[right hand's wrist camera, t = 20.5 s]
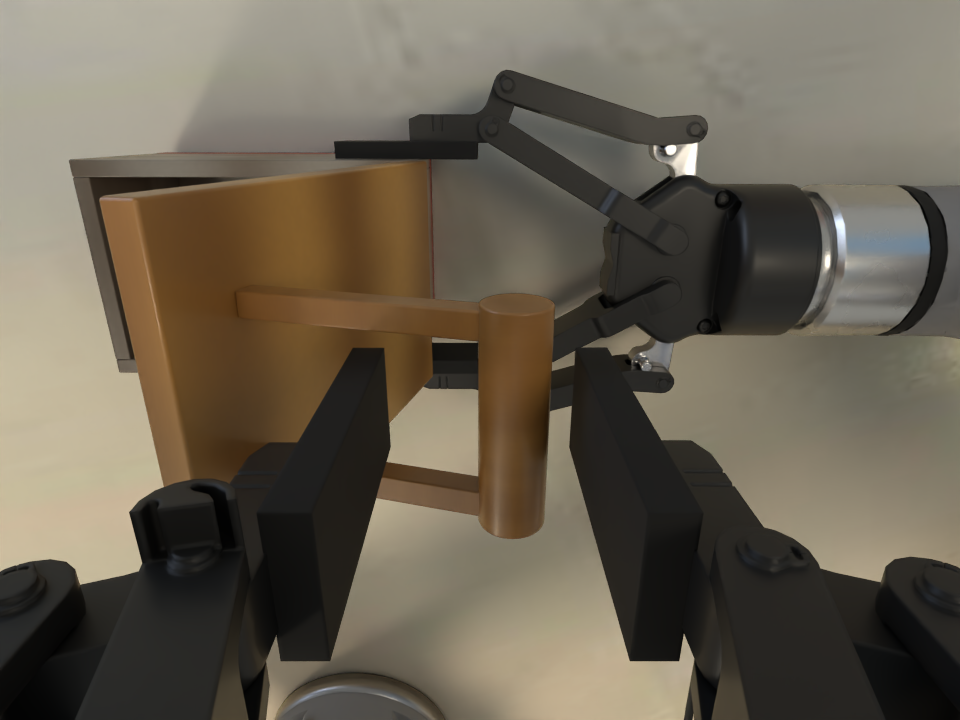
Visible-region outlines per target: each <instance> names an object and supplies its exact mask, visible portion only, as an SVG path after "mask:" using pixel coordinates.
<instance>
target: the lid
mask: <svg viewBox="0 0 960 720" xmlns="http://www.w3.org/2000/svg"><path fill="white" fill-rule="evenodd" d="M99 202H100V206H101V211H102V215H103V219H104V224H105V228H106V233H107V237H108V242H109V246H110V250H111V255H112V259H113V264H114V268H115V273H116V277H117V281H118V286H119V290H120V295H121V299H122V303H123V308H124V312H125V317H126V321H127V326H128V330H129V334H130V339H131V343H132V348H133V352H134V357H135V361H136V365H137V370H138V374H139V379H140V383H141V388H142V392H143V396H144V401H145V405H146V410H147V414H148V418H149V423H150V427H151V432H152V436H153V441H154V445H155V449H156V454H157V458H158V463H159V467H160V472H161V476H162V480H163V485H164V487H166V486H168V485H171V484H173V483H177V482H182V481H187V480H191V479H216V480H221V481H225V482H227V483H228V484H229V483H230V482H231V481H232V479H233V478H234V476H235V475H238V471H239V469H240V468H241V467H242V465H243V464H244V462H245V461H246V459H247V458H248V457H249V456H250V455H251V454H253V453H254V452H256V451H257V450H259V449H260V448H262V447H263V446H265V445H266V444H267V443H269V442H298V441H299V439H300V437H301V436H302V434H303V432H304V430H305V429H306V427H307V425H308V424H309V422H310V420H311V418H312V417H313V415H314V413H315V412H316V410H317V408H318V406H319V405H320V403H321V401H322V400H323V398H324V396H325V395H326V393H327V391H328V389H329V388H330V386H331V384H332V383H333V381H334V379H335V377H336V376H337V374H338V372H339V371H340V369H341V367H342V365H343V364H344V362H345V360H346V359H347V357H348V355H349V354H350V352H351V350H352V348H384V351H385V366H386V382H387V398H388V414H389V423H390V422H391V421H392V420H393V419H394V418H395V417H396V415H397V414H398V413H399V412H400V411H401V410H402V409H403V408H404V407H405V406H406V405H407V404H408V402H409V401H410V400H411V399H412V398H413V397H414V396H415V395H416V394H417V393H418V392H419V391H420V390H421V388H422V387H423V386H424V385H425V384H426V383H427V382H428V381H429V380H430V379H431V378H432V376H433V365H432V337H438V338H449V339H459V340H469V341H478V476H471V475H465V474H459V473H452V472H446V471H440V470H433V469H427V468H421V467H414V466H408V465H402V464H395V463H389V462H386V465H385V469H384V472H383V476H382V479H381V483H380V486H379V490H378V493H377V497H376V498H380V499H385V500H391V501H397V502H402V503H408V504H414V505H419V506H425V507H431V508H437V509H442V510H448V511H454V512H459V513H465V514H471V515H477V516H478V519H479V522H480V524H481V526H482V527H483V528H484V529H485V530H486V531H487V532H489V533H490V534H492V535H495V536H498V537H501V538H507V539H519V538H525V537H528V536H531V535H533V534H534V533H536V532H537V531H539V529H540V528H541V527H542V525H543V523H544V515H545V495H546V475H547V455H548V435H549V415H550V395H551V375H552V355H553V335H554V315H555V305H554V303H553V302H552V301H551V300H549V299H547V298H544V297H541V296H536V295H530V294H499V295H493V296H490V297H486V298H484V299H482V300H481V301H480V302H479V303H477V302H464V301H451V300H439V299H431V296H430V262H429V228H428V194H427V163H426V161H402V162H393V163H384V164H375V165H367V166H358V167H349V168H341V169H332V170H323V171H314V172H306V173H297V174H288V175H280V176H271V177H262V178H253V179H245V180H236V181H227V182H218V183H210V184H201V185H192V186H184V187H175V188H166V189H157V190H149V191H140V192H131V193H123V194H114V195H105V196H102V197H101V198H100V200H99Z"/></svg>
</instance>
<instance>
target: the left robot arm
mask: <svg viewBox="0 0 960 720" xmlns="http://www.w3.org/2000/svg"><path fill="white" fill-rule="evenodd" d="M514 106H517V107H520V108H523V109H526V110H529V111H533V112H536V113H539V114H542V115H545V116H548V117H551V118H555V119H558V120H561V121H564V122H567V123H570V124H574V125H577V126H580V127H583V128H586V129H589V130H592V131H596V132H599V133H602V134H605V135H608V136H611V137H614V138H618V139H621V140H624V141H627V142H631V143H636V144H645V145H649V155H650V157H651V158H652V159H653V160H655V161H657V162H662V163H664V164H666V166H667V167H668V169H669V172H670V176H668V177H667V178H665V179H664V180H662V181H661V182H660V183H658V184H657V185H655V186H654V187H652V188H651V189H649V190H648V191H647V192H645V193H644V194H642V195H641V196H639V197H638V198H637V199H635V200H632V199H631V198H629V197H627V196H626V195H624V194H623V193H621V192H619V191H618V190H616V189H614V188H613V187H611V186H609V185H608V184H606V183H604V182H603V181H601V180H600V179H598V178H596V177H595V176H593V175H592V174H590V173H588V172H587V171H585V170H584V169H582V168H581V167H579V166H577V165H576V164H574V163H573V162H571V161H569V160H568V159H566V158H565V157H563V156H561V155H560V154H558V153H557V152H555V151H553V150H552V149H550V148H549V147H547V146H545V145H544V144H542V143H541V142H539V141H537V140H536V139H534V138H533V137H531V136H529V135H528V134H526V133H525V132H523V131H521V130H520V129H518V128H517V127H515V126H513V125H512V124H510V123H509V119H510V116H511V113H512V111H513V108H514ZM409 129H410V141H335V142H334V147H335V159H478V143H489V144H491V145H493V146H494V147H496V148H497V149H499V150H501V151H502V152H504V153H506V154H507V155H509V156H510V157H512V158H514V159H515V160H517V161H519V162H520V163H522V164H523V165H525V166H527V167H528V168H530V169H532V170H533V171H535V172H536V173H538V174H540V175H541V176H543V177H545V178H546V179H548V180H549V181H551V182H553V183H554V184H556V185H558V186H559V187H561V188H562V189H564V190H566V191H567V192H569V193H571V194H572V195H574V196H576V197H577V198H579V199H580V200H582V201H584V202H585V203H587V204H589V205H590V206H592V207H593V208H595V209H597V210H598V211H600V212H601V213H603V214H605V215H606V216H608V217H609V218H611V220H610V221H609V223H608V225H607V227H604V233H603V246H604V251H605V260H604V263H603V266H602V269H601V272H600V285H599V286H600V287H601V289H602V292H600V293H598V294H596V295H595V296H593V297H591V298H589V299H588V300H586V301H585V303H584V304H583V305H582V306H580V307H578V308H576V309H574V310H572V311H571V312H569V313H567V314H565V315H563V316H561V317H559V318H557V319H555V320H554V335H553V355H552V362H554V361H556V360H558V359H560V358H562V357H564V356H566V355H568V354H569V353H571V352H573V351H575V350H576V348H581V347H583V346H585V345H587V344H589V343H591V342H593V341H595V340H597V339H599V338H607V337H610V336H612V335H614V334H616V333H618V332H620V331H622V330H624V329H626V328H628V327H630V326H632V325H634V324H635V325H636V326H638V327H639V328H640V329H642V330H643V331H644V332H646V333H647V334H648V335H650V336H651V338H650V340H649V341H648V342H647V343H646V344H644V345H642V346H636V347H633V348H632V349H631V350H630V352H629V354H623V355H614V356H612V357H613V359H614V360H615V362H616V364H617V365H618V367H619V369H620V371H621V372H622V374H623V376H624V377H625V379H626V381H627V383H628V384H629V386H630V388H631V389H632V391H637V392H652V393H665V392H667V391H669V390H670V389H671V388H672V387H673V385H674V379H673V377H672V375H671V374H670V372H669V366H670V361H671V356H672V351H673V346H674V343H675V342H678V341H680V340H682V339H684V338H686V337H689V336H692V335H698V334H705V335H780V334H783V333H785V332H789V333H790V334H793V335H797V336H825V335H879V336H888V335H910V336H945V337H952V338H958V339H960V186H905V185H807V186H805V187H802V188H798V187H796V186H794V185H790V184H710V183H707V182H706V181H704V180H702V179H701V178H699V177H697V176H696V167H697V152H698V142H700V141H701V140H703V139H704V137H705V136H706V134H707V130H708V125H707V122H706V120H705V119H704V118H703V117H702V116H698V115H690V116H676V117H662V118H657V117H654V116H651V115H648V114H644V113H641V112H638V111H635V110H632V109H629V108H626V107H623V106H620V105H617V104H614V103H610V102H607V101H604V100H601V99H598V98H595V97H592V96H589V95H586V94H583V93H580V92H576V91H573V90H570V89H567V88H564V87H561V86H558V85H555V84H552V83H549V82H545V81H542V80H539V79H536V78H533V77H530V76H527V75H524V74H521V73H518V72H515V71H511V70H505V71H502V72H500V73H499V74H498V75H497V76H496V79H495V81H494V84H493V87H492V90H491V93H490V96H489V98H488V101H487V104H486V106H485V107H484V108H483V110H481V111H480V112H479V113H476V114H471V115H447V114H443V115H441V114H420V115H417V116H415V117H413V118H411V119H409ZM432 365H433V376H432V378H431V379H430V380H429V381H428V382H427V383H426V384H425V385H424V386H423V387H426V388H429V389H439V388H441V389H447V388H448V389H476V390H478V343H432ZM574 366H575V365H574ZM574 366H570V367H566V368H562V369H558V370H555V371H552V375H551V395H550V411H552V410H556V409H560V408H564V407H568V406H572V398H573V382H574ZM275 720H445V719H444V717H443V715H442V713H441V712H440V711H439V709H438V708H437V707H436V706H435V704H434V703H433V702H432V701H431V700H429V699H428V698H427V697H426V696H425V695H423V694H422V693H421V692H419V691H417V690H416V689H414V688H412V687H410V686H409V685H406V684H404V683H402V682H400V681H397V680H394V679H391V678H387V677H383V676H378V675H372V674H363V673H346V674H337V675H331V676H327V677H323V678H320V679H317V680H314V681H312V682H310V683H307V684H305V685H304V686H302V687H300V688H299V689H297V690H296V691H294V692H293V693H292V694H291V695H290V696H289V697H288V698H287V699H286V700H285V701H284V702H283V704H282V705H281V707H280V709H279V711H278V713H277V715H276V718H275Z"/></svg>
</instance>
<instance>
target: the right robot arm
mask: <svg viewBox="0 0 960 720" xmlns="http://www.w3.org/2000/svg"><path fill="white" fill-rule="evenodd" d="M390 447H391V446H390V430H389V414H388V398H387V382H386V366H385V351H384V348H352V350H351V352H350V354H349V355H348V357H347V359H346V360H345V362H344V364H343V365H342V367H341V369H340V371H339V372H338V374H337V376H336V377H335V379H334V381H333V383H332V384H331V386H330V388H329V389H328V391H327V393H326V395H325V396H324V398H323V400H322V401H321V403H320V405H319V406H318V408H317V410H316V412H315V413H314V415H313V417H312V418H311V420H310V422H309V424H308V425H307V427H306V429H305V430H304V432H303V434H302V436H301V437H300V439H299V441H298V442H269V443H267V444H266V445H265V446H263V447H262V448H260V449H259V450H257V451H256V452H254V453H253V454H251V455H250V456H249V457H248V458H247V459H246V461H245V462H244V464H243V465H242V467H241V468H240V469H239V471H238V475H235V476H234V478H233V479H232V481H231V482H230V483H229V484H228V483H227V482H225V481H221V480H216V479H191V480H187V481H182V482H177V483H173V484H171V485H168V486H166V487H163V488H161V489H158V490H156V491H154V492H152V493H151V494H149V495H148V496H146V497H144V498H143V499H141V500H140V501H139V502H138V503H137V504H136V505H135V506H134V508H133V509H132V510H131V511H130V512H129V513H130V517H131V521H132V525H133V529H134V533H135V536H136V540H137V544H138V548H139V552H140V556H141V559H142V565H141V568H140V570H139V572H135V573H131V574H128V575H124V576H120V577H115V578H110V579H106V580H101V581H96V582H91V583H87V584H82V585H80V584H79V580H78V577H77V574H76V571H75V569H74V568H73V567H72V566H70V565H69V564H68V563H67V562H64V561H57V560H51V559H49V560H41V561H32V562H27V563H23V564H19V565H17V566H16V565H15V566H13V567H10V568H7V569H4V570H2V571H1V572H0V720H266V714H267V705H268V696H269V687H270V684H269V677H268V670H267V665H266V659H267V657H268V654H269V652H270V649H271V647H272V644H273V642H274V639H275V637H276V635H277V641H278V647H279V653H280V659H281V661H330V660H331V656H332V653H333V649H334V646H335V642H336V638H337V635H338V631H339V628H340V624H341V621H342V617H343V614H344V610H345V607H346V603H347V599H348V596H349V592H350V589H351V585H352V582H353V578H354V575H355V571H356V568H357V564H358V561H359V557H360V553H361V550H362V546H363V543H364V539H365V536H366V532H367V529H368V525H369V522H370V518H371V515H372V511H373V507H374V504H375V500H376V497H377V493H378V490H379V486H380V483H381V479H382V476H383V472H384V469H385V465H386V461H387V458H388V454H389V451H390ZM569 447H570V451H571V454H572V458H573V461H574V465H575V469H576V472H577V476H578V479H579V483H580V486H581V490H582V493H583V497H584V500H585V504H586V507H587V511H588V515H589V518H590V522H591V525H592V529H593V532H594V536H595V539H596V543H597V546H598V550H599V553H600V557H601V561H602V564H603V568H604V571H605V575H606V578H607V582H608V585H609V589H610V592H611V596H612V599H613V603H614V607H615V610H616V614H617V617H618V621H619V624H620V628H621V631H622V635H623V638H624V642H625V646H626V649H627V653H628V656H629V660H630V661H679V659H680V653H681V647H682V641H683V635H684V634H685V637H686V639H687V641H688V644H689V646H690V649H691V651H692V654H693V656H694V665H693V670H692V676H691V682H690V687H689V693H688V698H687V704H686V710H685V717H684V720H692V719H693V713H694V720H960V568H958V567H956V566H953V565H950V564H947V563H942V562H941V561H936V560H932V559H925V558H917V557H906V558H900V559H894V560H893V561H892V562H891V563H890V564H888V565H887V566H886V568H885V571H884V574H883V577H882V580H881V582H876V581H871V580H867V579H862V578H857V577H852V576H848V575H843V574H838V573H834V572H831V571H827V570H823V569H820V567H819V564H818V562H817V561H816V560H815V558H814V557H813V555H812V554H811V553H810V551H809V550H808V549H807V548H805V547H804V546H803V545H801V544H800V543H799V542H797V541H796V540H795V539H793V538H791V537H789V536H786V535H784V534H782V533H780V532H778V531H775V530H771V529H767V528H764V527H763V526H762V524H761V523H760V521H759V520H758V519H757V517H756V516H755V514H754V513H753V512H752V510H751V509H750V507H749V506H748V505H747V503H746V502H745V500H744V499H743V498H742V496H741V495H740V493H739V492H738V491H737V489H736V488H735V486H732V482H731V481H730V479H729V478H728V477H727V475H726V474H725V473H723V470H722V468H721V467H720V465H719V464H718V463H717V461H716V460H715V458H714V457H713V456H712V454H711V453H709V452H708V451H706V450H705V449H703V448H702V447H700V446H699V445H697V444H696V443H694V442H693V441H691V440H661V439H660V437H659V436H658V434H657V432H656V430H655V429H654V427H653V425H652V424H651V422H650V420H649V418H648V417H647V415H646V413H645V412H644V410H643V408H642V407H641V405H640V403H639V401H638V400H637V398H636V396H635V395H634V393H633V391H632V389H631V388H630V386H629V384H628V383H627V381H626V379H625V377H624V376H623V374H622V372H621V371H620V369H619V367H618V365H617V364H616V362H615V360H614V359H613V357H612V355H611V354H610V352H609V350H608V348H576V351H575V366H574V382H573V398H572V414H571V430H570V446H569Z"/></svg>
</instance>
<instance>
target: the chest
mask: <svg viewBox="0 0 960 720" xmlns="http://www.w3.org/2000/svg"><path fill="white" fill-rule="evenodd" d="M402 161H426V163H427V194H428V228H429V262H430V296H431V299H435V295H434V258H433V221H432V183H431V159H335V153H157V154H143V155H129V156H115V157H101V158H86V159H72V160H69V163H70V168H71V172H72V176H73V177H74V178H73V180H74V184H75V188H76V193H77V197H78V201H79V205H80V209H81V214H82V218H83V222H84V226H85V230H86V235H87V239H88V243H89V247H90V251H91V256H92V260H93V264H94V268H95V272H96V276H97V281H98V285H99V289H100V293H101V297H102V302H103V306H104V310H105V314H106V318H107V323H108V327H109V331H110V335H111V339H112V344H113V348H114V352H115V356H116V359H117V364H118V368H119V372H121V373H134V372H138V370H137V365H136V361H135V357H134V352H133V348H132V343H131V339H130V334H129V330H128V326H127V321H126V317H125V312H124V308H123V303H122V299H121V295H120V290H119V286H118V281H117V277H116V273H115V268H114V264H113V259H112V255H111V250H110V246H109V242H108V237H107V233H106V228H105V224H104V219H103V215H102V211H101V206H100V202H99V200H100V198H101V197H102V196H105V195H114V194H123V193H131V192H140V191H149V190H157V189H166V188H175V187H184V186H192V185H201V184H210V183H218V182H227V181H236V180H245V179H253V178H262V177H271V176H280V175H288V174H297V173H306V172H314V171H323V170H332V169H341V168H349V167H358V166H367V165H375V164H384V163H393V162H402Z"/></svg>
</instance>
